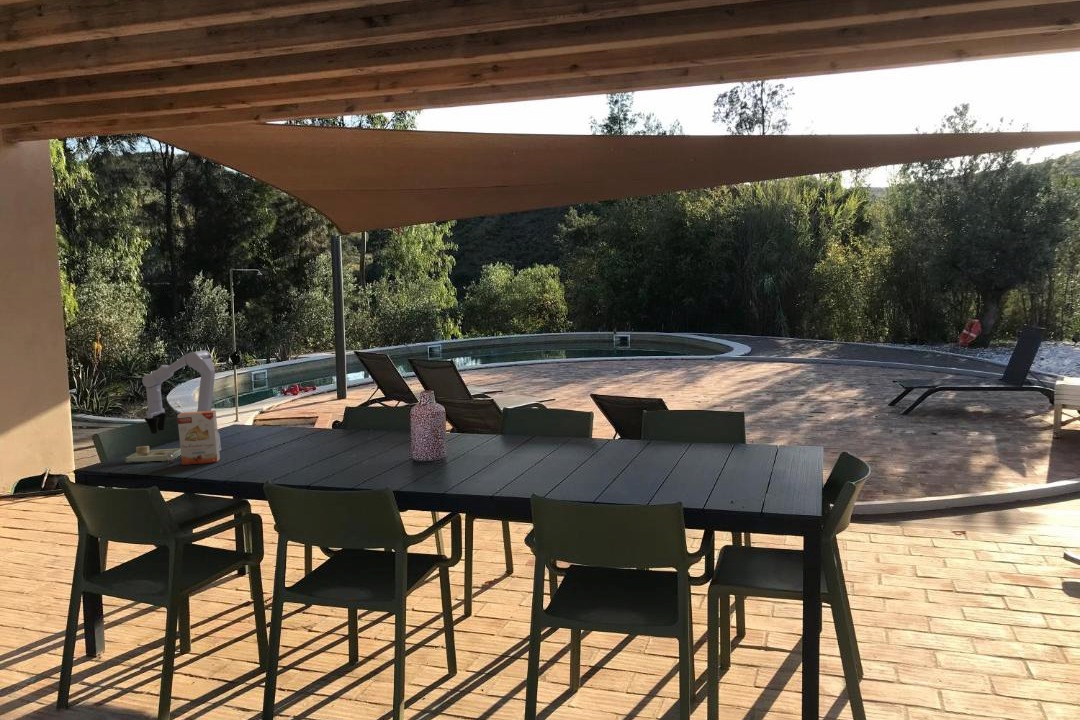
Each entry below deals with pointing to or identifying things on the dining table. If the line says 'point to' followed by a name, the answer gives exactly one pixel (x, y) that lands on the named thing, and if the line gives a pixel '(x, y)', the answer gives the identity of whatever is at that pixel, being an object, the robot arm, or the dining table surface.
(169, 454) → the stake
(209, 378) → the robot arm
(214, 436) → the cracker box
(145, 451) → the tan joined block frame
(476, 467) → the dining table surface
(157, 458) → the tray
